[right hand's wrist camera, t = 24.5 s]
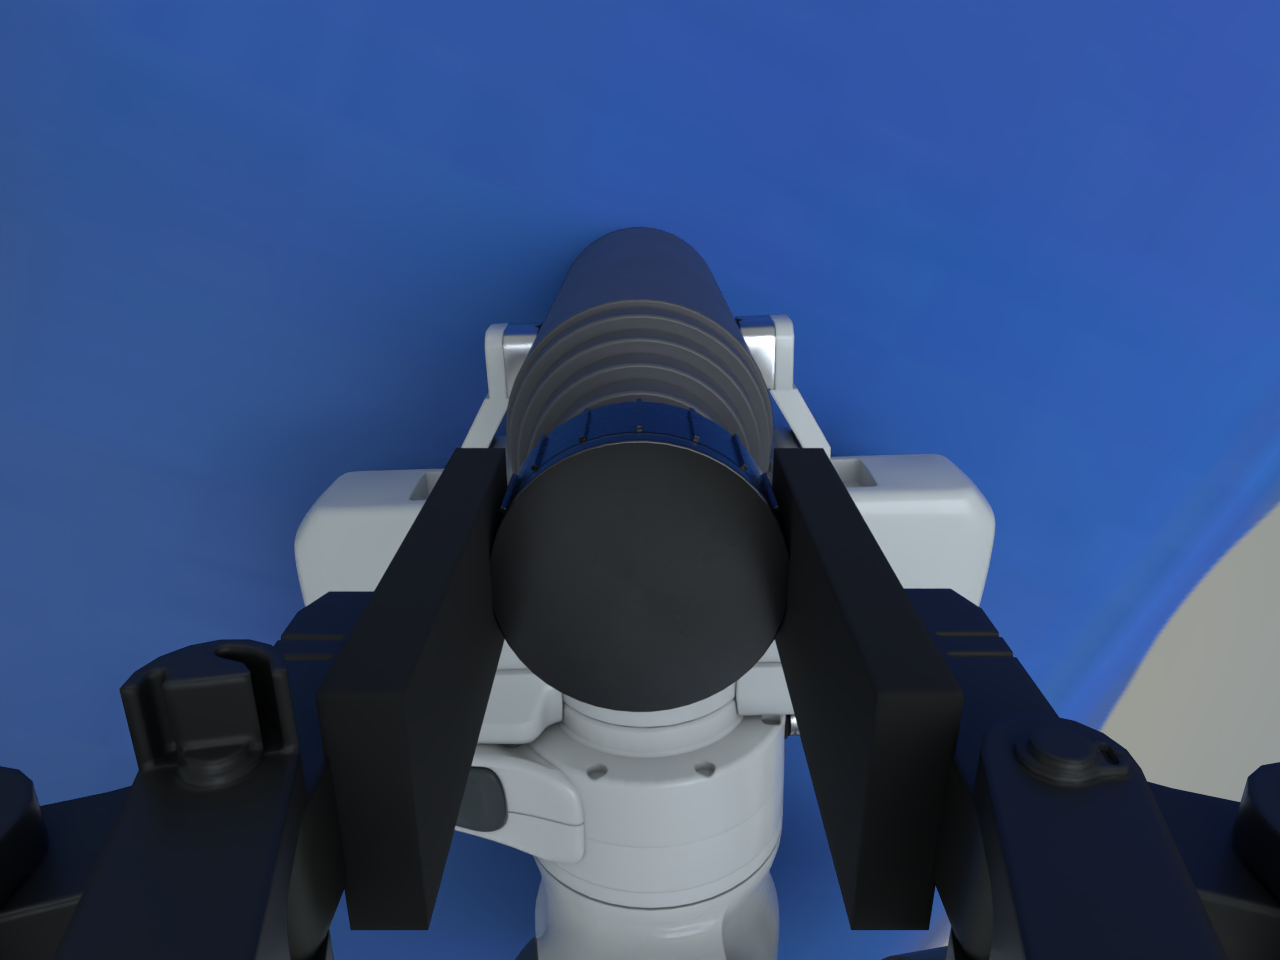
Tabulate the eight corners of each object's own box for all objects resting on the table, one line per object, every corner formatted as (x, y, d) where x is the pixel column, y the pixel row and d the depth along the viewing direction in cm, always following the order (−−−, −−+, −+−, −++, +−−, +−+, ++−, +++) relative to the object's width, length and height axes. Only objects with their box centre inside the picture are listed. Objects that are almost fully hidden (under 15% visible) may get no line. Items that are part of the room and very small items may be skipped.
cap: (444, 521, 14) (416, 575, 13) (648, 337, 13) (649, 368, 11) (631, 693, 15) (629, 765, 14) (832, 536, 14) (858, 592, 13)
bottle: (551, 372, 33) (434, 693, 14) (572, 214, 31) (468, 345, 12) (702, 396, 33) (784, 741, 14) (733, 241, 31) (872, 410, 12)
